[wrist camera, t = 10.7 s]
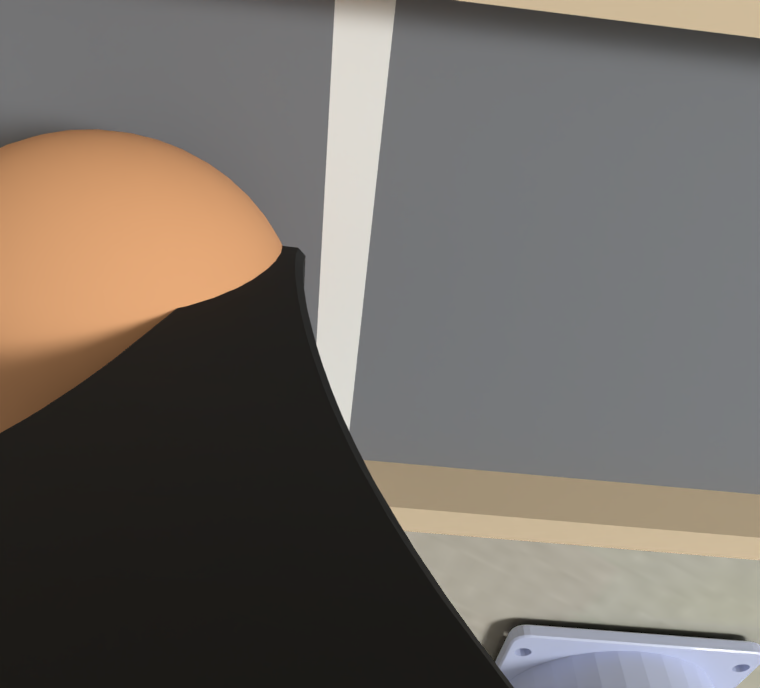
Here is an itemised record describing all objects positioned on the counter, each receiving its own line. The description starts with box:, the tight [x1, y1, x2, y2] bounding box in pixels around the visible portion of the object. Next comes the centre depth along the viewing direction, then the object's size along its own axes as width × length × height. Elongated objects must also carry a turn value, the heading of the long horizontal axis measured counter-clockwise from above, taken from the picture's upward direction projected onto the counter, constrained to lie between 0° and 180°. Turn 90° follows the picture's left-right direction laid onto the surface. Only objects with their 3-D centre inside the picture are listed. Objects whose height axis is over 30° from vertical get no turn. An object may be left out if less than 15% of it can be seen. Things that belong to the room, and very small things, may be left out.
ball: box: [0, 129, 282, 433], centre depth 9 cm, size 5×5×5 cm
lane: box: [0, 0, 760, 560], centre depth 11 cm, size 11×22×2 cm, turn 84°
